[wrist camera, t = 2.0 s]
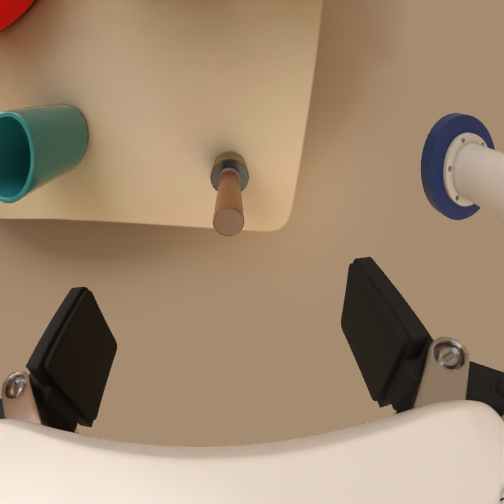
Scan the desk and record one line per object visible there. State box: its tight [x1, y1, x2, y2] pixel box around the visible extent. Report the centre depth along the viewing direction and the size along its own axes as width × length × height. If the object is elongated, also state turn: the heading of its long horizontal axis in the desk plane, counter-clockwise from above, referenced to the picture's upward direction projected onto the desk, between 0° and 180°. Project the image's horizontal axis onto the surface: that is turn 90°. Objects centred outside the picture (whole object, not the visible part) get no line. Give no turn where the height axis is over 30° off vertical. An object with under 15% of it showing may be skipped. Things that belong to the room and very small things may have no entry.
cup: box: [0, 104, 88, 203], centre depth 21 cm, size 9×12×11 cm
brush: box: [211, 152, 249, 236], centre depth 23 cm, size 4×4×16 cm
